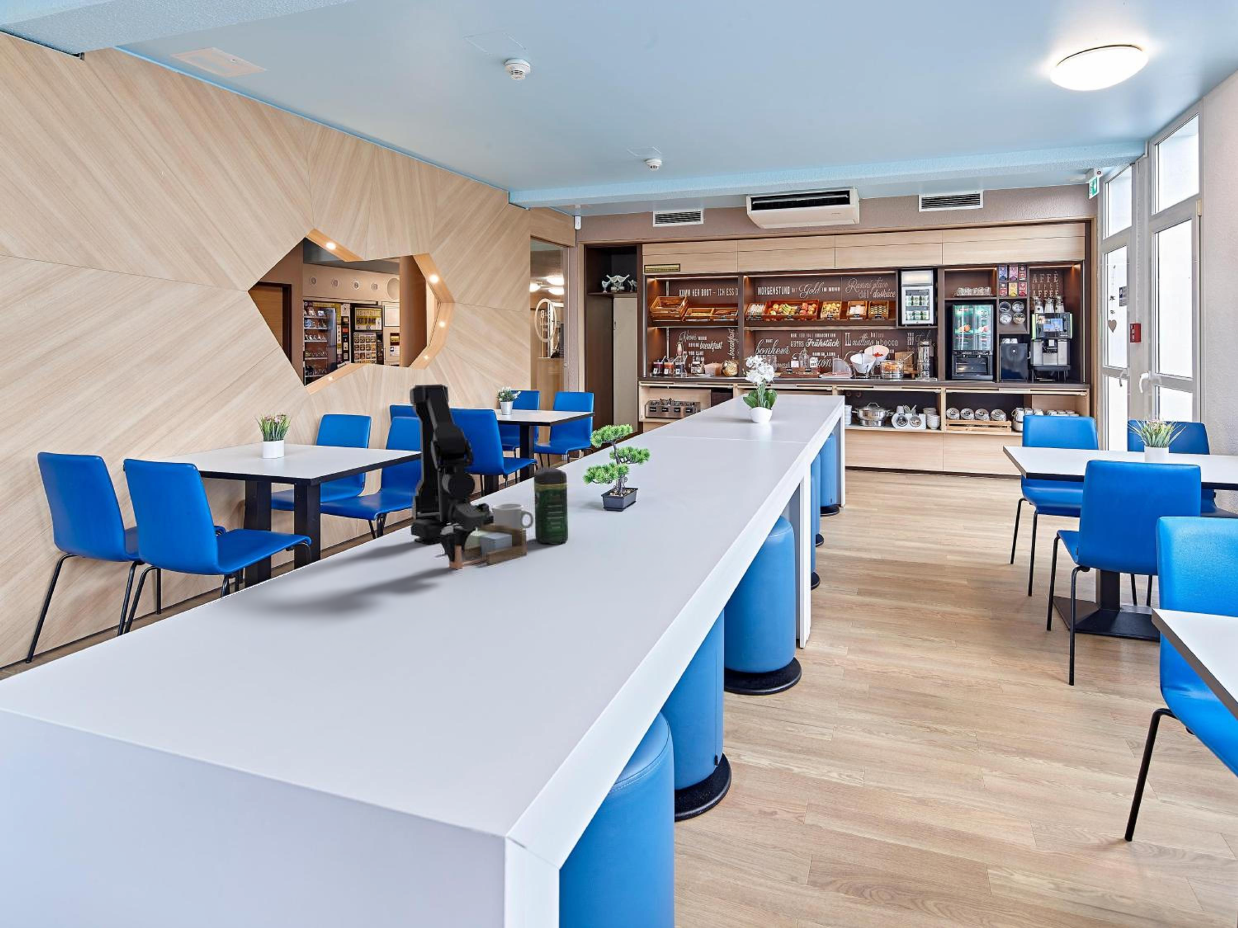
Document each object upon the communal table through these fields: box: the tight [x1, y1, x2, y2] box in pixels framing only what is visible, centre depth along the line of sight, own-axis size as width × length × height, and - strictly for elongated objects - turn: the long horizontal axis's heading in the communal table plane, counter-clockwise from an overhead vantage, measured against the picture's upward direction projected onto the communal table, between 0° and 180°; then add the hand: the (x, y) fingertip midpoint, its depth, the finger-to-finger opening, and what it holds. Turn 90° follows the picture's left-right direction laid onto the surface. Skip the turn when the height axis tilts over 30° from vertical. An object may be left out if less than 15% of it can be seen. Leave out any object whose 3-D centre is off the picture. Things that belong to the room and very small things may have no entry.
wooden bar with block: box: [448, 532, 512, 570], centre depth 182 cm, size 5×15×5 cm, turn 139°
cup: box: [491, 502, 535, 530], centre depth 205 cm, size 11×8×8 cm
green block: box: [465, 529, 494, 548], centre depth 191 cm, size 5×5×4 cm
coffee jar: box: [533, 466, 569, 545], centre depth 200 cm, size 10×8×19 cm
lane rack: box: [444, 523, 528, 566], centre depth 188 cm, size 16×11×6 cm
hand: (455, 560), depth 177 cm, fingers closed on wooden bar with block
